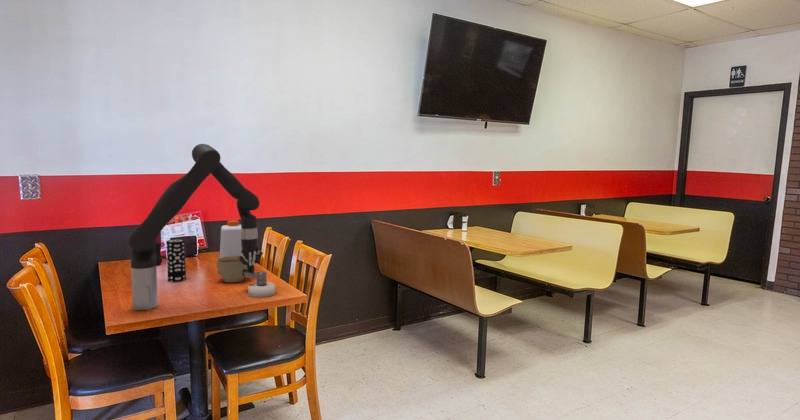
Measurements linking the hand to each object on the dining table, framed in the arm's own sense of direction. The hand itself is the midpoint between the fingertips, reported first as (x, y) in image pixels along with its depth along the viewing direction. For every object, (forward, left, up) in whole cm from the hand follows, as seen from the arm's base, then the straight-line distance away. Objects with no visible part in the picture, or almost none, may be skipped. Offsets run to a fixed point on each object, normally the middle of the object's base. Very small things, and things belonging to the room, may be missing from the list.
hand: (250, 272), depth 226 cm
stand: (-9, -6, -8) cm, 13 cm away
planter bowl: (+16, +11, -8) cm, 21 cm away
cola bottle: (+53, +61, -8) cm, 81 cm away
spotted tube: (+19, +39, -8) cm, 44 cm away
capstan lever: (-6, -2, -4) cm, 7 cm away
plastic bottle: (+34, +14, -8) cm, 38 cm away
